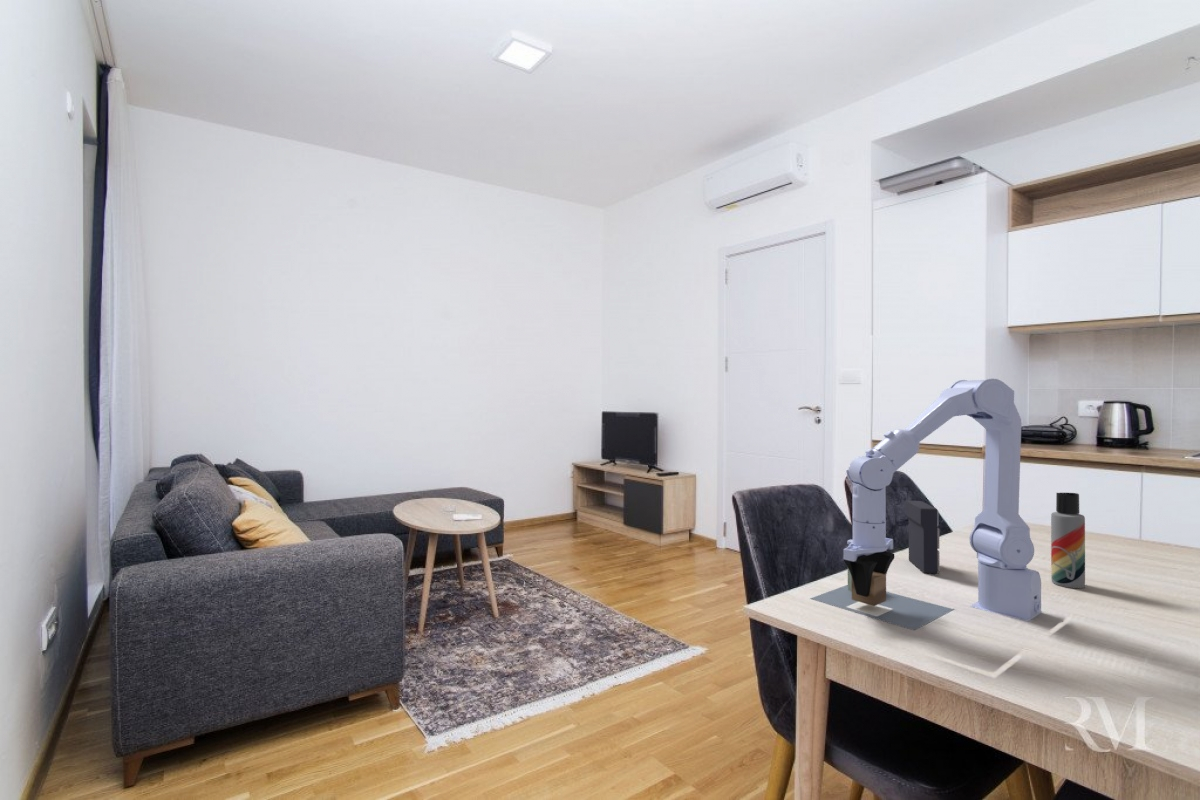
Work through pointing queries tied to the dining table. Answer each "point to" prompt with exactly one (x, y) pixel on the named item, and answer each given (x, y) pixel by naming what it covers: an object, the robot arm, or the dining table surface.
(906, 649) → the dining table surface
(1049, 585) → the dining table surface
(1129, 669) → the dining table surface
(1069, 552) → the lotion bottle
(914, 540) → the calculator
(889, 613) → the grey mat
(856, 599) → the walnut block
